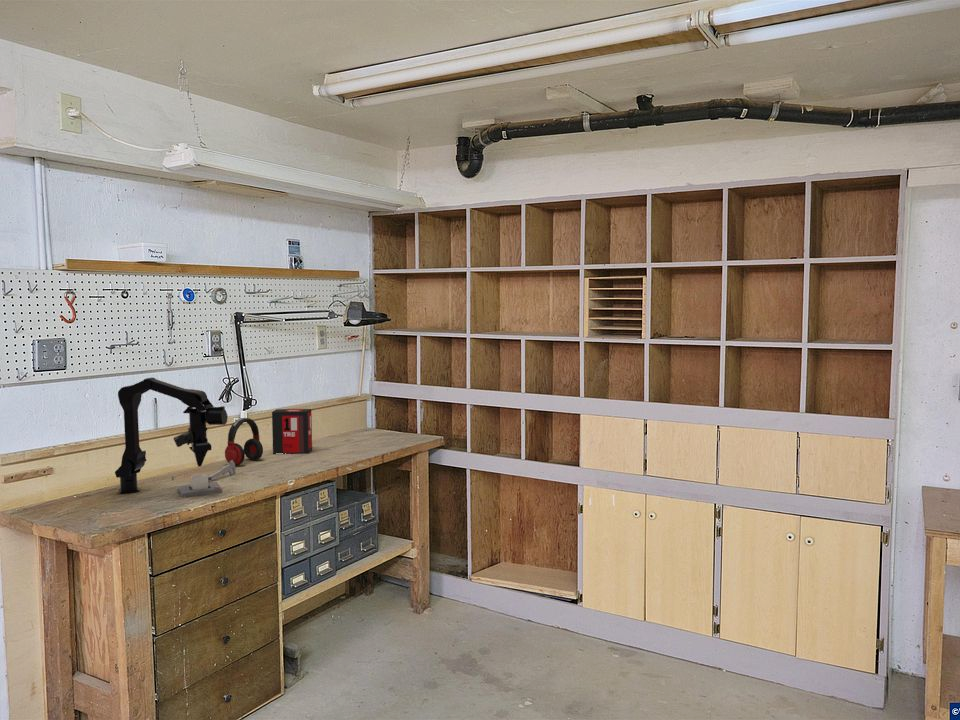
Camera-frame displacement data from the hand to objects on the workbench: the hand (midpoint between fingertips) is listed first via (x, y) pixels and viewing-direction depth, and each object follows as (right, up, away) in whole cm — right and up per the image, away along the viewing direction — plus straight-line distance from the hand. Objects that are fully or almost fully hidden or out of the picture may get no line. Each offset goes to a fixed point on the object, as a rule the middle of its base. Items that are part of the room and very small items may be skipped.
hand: (199, 466), depth 270 cm
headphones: (0, -6, +50) cm, 51 cm away
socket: (0, -10, +1) cm, 10 cm away
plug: (0, -10, +1) cm, 10 cm away
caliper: (-1, -9, +20) cm, 21 cm away
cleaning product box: (+16, -4, +74) cm, 76 cm away
